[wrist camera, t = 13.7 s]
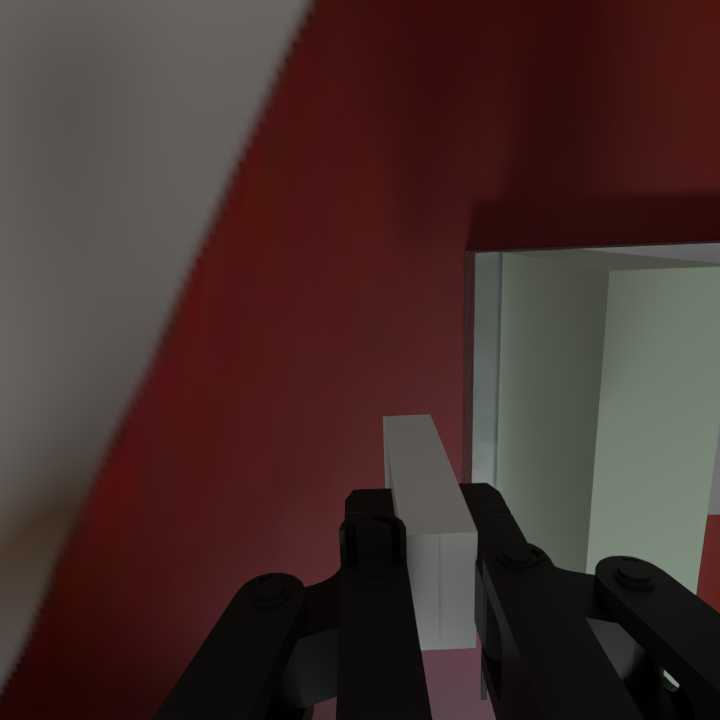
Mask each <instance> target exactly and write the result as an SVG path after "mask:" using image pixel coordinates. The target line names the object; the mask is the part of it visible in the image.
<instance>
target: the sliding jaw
mask: <svg viewBox="0 0 720 720" xmlns="http://www.w3.org/2000/svg"><path fill="white" fill-rule="evenodd" d="M719 427H720V263H712V262H702V261H692V260H682V259H673V258H663V257H653V256H643V255H633V254H623V253H613V252H603V251H594V250H584V249H572V250H547V251H523V252H503V267H502V303H501V339H500V375H499V410H498V446H497V482H496V489H497V490H498V491H499V492H500V493H501V495H502V497H503V498H504V500H505V502H506V505H507V506H508V508H509V509H510V511H511V515H513V517H514V519H515V520H516V522H517V524H518V526H519V528H520V529H521V531H522V533H523V535H524V537H525V539H526V540H527V542H528V543H530V544H533V545H535V546H537V547H539V548H540V549H542V550H543V551H544V552H545V553H546V554H547V555H548V556H549V557H550V559H551V560H552V562H553V564H554V566H556V567H558V568H561V569H565V570H569V571H574V572H580V573H586V574H592V575H595V567H596V565H597V564H598V562H599V561H600V560H602V559H604V558H606V557H609V556H621V555H622V556H629V557H630V556H631V557H636V558H639V559H642V560H644V561H647V562H650V563H652V564H654V565H655V566H657V567H659V568H660V569H662V570H664V571H665V572H666V573H668V574H669V575H670V576H671V577H673V578H674V579H675V580H677V581H678V582H679V583H681V584H682V585H683V586H684V587H686V588H687V589H688V590H690V591H691V592H692V593H694V594H695V595H696V590H697V583H698V576H699V569H700V562H701V555H702V548H703V540H704V533H705V526H706V519H707V512H708V505H709V498H710V491H711V484H712V476H713V469H714V462H715V455H716V448H717V441H718V434H719ZM664 676H665V677H666V678H667V679H668V680H669V681H670V682H671V683H673V684H674V685H675V686H676V687H679V684H678V683H677V682H676V681H675V680H674V679H673V678H672V677H671V676H670V675H669V674H668V673H667V672H666V671H665V670H664Z"/></svg>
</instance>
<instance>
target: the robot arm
mask: <svg viewBox="0 0 720 720" xmlns="http://www.w3.org/2000/svg"><path fill="white" fill-rule="evenodd" d="M383 431H384V460H385V488H384V489H362V490H353V491H352V492H351V494H350V495H349V496H348V498H347V499H346V500H345V521H344V522H343V523H342V524H341V527H340V529H339V541H340V557H341V567H340V569H339V571H338V572H336V573H335V574H334V575H333V576H332V577H330V578H329V579H327V580H325V581H323V582H320V583H318V584H315V585H311V586H308V587H304V585H303V583H302V581H300V580H299V579H298V578H296V577H295V576H293V575H289V574H285V573H269V574H265V575H261V576H258V577H256V578H254V579H252V580H250V581H248V582H247V583H245V584H244V585H243V586H242V587H241V588H240V589H239V590H238V592H237V593H236V595H235V596H234V598H233V599H232V601H231V602H230V604H229V605H228V607H227V608H226V610H225V611H224V613H223V614H222V616H221V617H220V619H219V620H218V622H217V623H216V625H215V626H214V628H213V629H212V631H211V632H210V634H209V635H208V637H207V638H206V640H205V641H204V643H203V644H202V646H201V647H200V649H199V650H198V652H197V653H196V655H195V656H194V658H193V659H192V661H191V662H190V664H189V665H188V667H187V668H186V670H185V671H184V673H183V674H182V676H181V678H180V679H179V681H178V682H177V684H176V685H175V687H174V688H173V690H172V691H171V693H170V694H169V696H168V697H167V699H166V700H165V702H164V703H163V705H162V706H161V708H160V709H159V711H158V712H157V714H156V715H155V717H154V718H153V720H311V719H312V716H313V711H314V704H317V703H320V702H322V701H325V700H328V699H331V698H334V697H336V696H337V707H336V720H432V716H431V709H430V703H429V697H428V691H427V685H426V679H425V672H424V666H423V660H422V654H421V650H438V649H460V648H476V628H477V631H478V634H479V638H480V641H481V644H482V648H481V700H487V689H488V692H489V696H490V699H491V703H492V706H493V710H494V713H495V717H496V720H720V614H719V613H718V612H717V611H716V610H714V609H713V608H712V607H710V606H709V605H708V604H707V603H705V602H704V601H703V600H701V599H700V598H699V597H697V596H696V595H695V594H694V593H692V592H691V591H690V590H688V589H687V588H686V587H684V586H683V585H682V584H681V583H679V582H678V581H677V580H675V579H674V578H673V577H671V576H670V575H669V574H668V573H666V572H665V571H664V570H662V569H660V568H659V567H657V566H655V565H654V564H652V563H650V562H647V561H644V560H642V559H639V558H636V557H631V556H630V557H629V556H622V555H621V556H609V557H606V558H604V559H602V560H600V561H599V562H598V564H597V565H596V567H595V575H592V574H586V573H580V572H574V571H569V570H565V569H561V568H558V567H556V566H554V564H553V562H552V560H551V559H550V557H549V556H548V555H547V554H546V553H545V552H544V551H543V550H542V549H540V548H539V547H537V546H535V545H533V544H530V543H528V542H527V540H526V539H525V537H524V535H523V533H522V531H521V529H520V528H519V526H518V524H517V522H516V520H515V519H514V517H513V515H511V511H510V509H509V508H508V506H507V505H506V502H505V500H504V498H503V497H502V495H501V493H500V492H499V491H498V490H497V489H495V488H494V487H492V486H491V485H489V484H488V483H464V484H458V482H457V480H456V477H455V475H454V472H453V470H452V467H451V465H450V462H449V460H448V457H447V455H446V452H445V450H444V448H443V445H442V443H441V440H440V438H439V435H438V433H437V430H436V428H435V425H434V423H433V420H432V418H431V415H407V416H385V417H383ZM664 670H665V671H666V672H667V673H668V674H669V675H670V676H671V677H672V678H673V679H674V680H675V681H676V682H677V683H678V684H679V687H676V686H675V685H674V684H673V683H671V682H670V681H669V680H668V679H667V678H666V677H665V676H664Z"/></svg>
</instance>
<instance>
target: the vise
mask: <svg viewBox="0 0 720 720" xmlns="http://www.w3.org/2000/svg"><path fill="white" fill-rule="evenodd" d="M572 249H584V250H594V251H603V252H613V253H623V254H633V255H643V256H653V257H663V258H673V259H682V260H692V261H702V262H712V263H720V240H713V241H689V242H664V243H640V244H615V245H591V246H567V247H542V248H518V249H494V250H469V251H465V287H464V386H463V484H464V483H488V484H489V485H491V486H492V487H494V488H495V489H496V482H497V446H498V410H499V375H500V339H501V303H502V267H503V252H523V251H547V250H572ZM711 514H720V427H719V434H718V441H717V448H716V455H715V462H714V469H713V476H712V484H711V491H710V498H709V505H708V512H707V515H711Z"/></svg>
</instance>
